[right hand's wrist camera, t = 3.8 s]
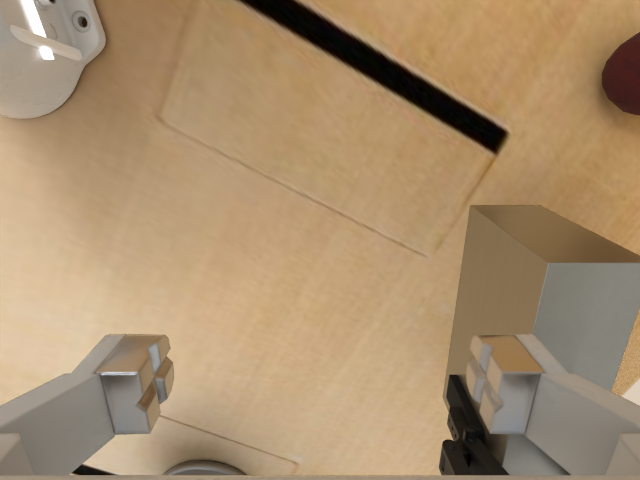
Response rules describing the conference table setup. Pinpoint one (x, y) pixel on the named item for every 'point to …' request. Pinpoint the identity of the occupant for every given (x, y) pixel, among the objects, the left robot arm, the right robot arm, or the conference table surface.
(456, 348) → the box
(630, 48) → the potato
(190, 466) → the left robot arm
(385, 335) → the conference table surface
